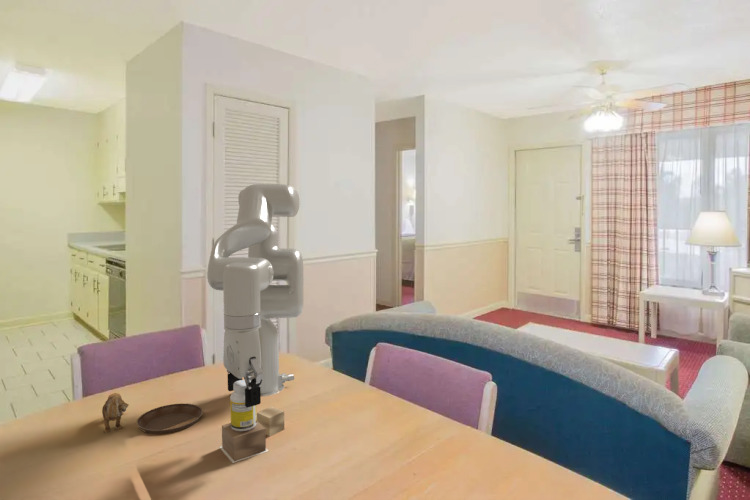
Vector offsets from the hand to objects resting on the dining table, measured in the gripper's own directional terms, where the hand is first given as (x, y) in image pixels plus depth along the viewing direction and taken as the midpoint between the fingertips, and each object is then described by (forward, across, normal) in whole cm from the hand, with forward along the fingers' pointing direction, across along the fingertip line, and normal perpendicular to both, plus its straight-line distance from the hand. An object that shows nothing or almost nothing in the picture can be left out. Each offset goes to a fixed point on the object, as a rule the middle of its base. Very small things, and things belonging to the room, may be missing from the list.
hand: (243, 397), depth 100 cm
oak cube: (+12, -4, +8) cm, 15 cm away
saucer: (+14, -23, -10) cm, 28 cm away
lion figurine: (+13, -32, -20) cm, 40 cm away
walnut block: (+11, +1, 0) cm, 11 cm away
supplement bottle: (+7, +1, 0) cm, 7 cm away
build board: (+13, +1, +2) cm, 13 cm away
